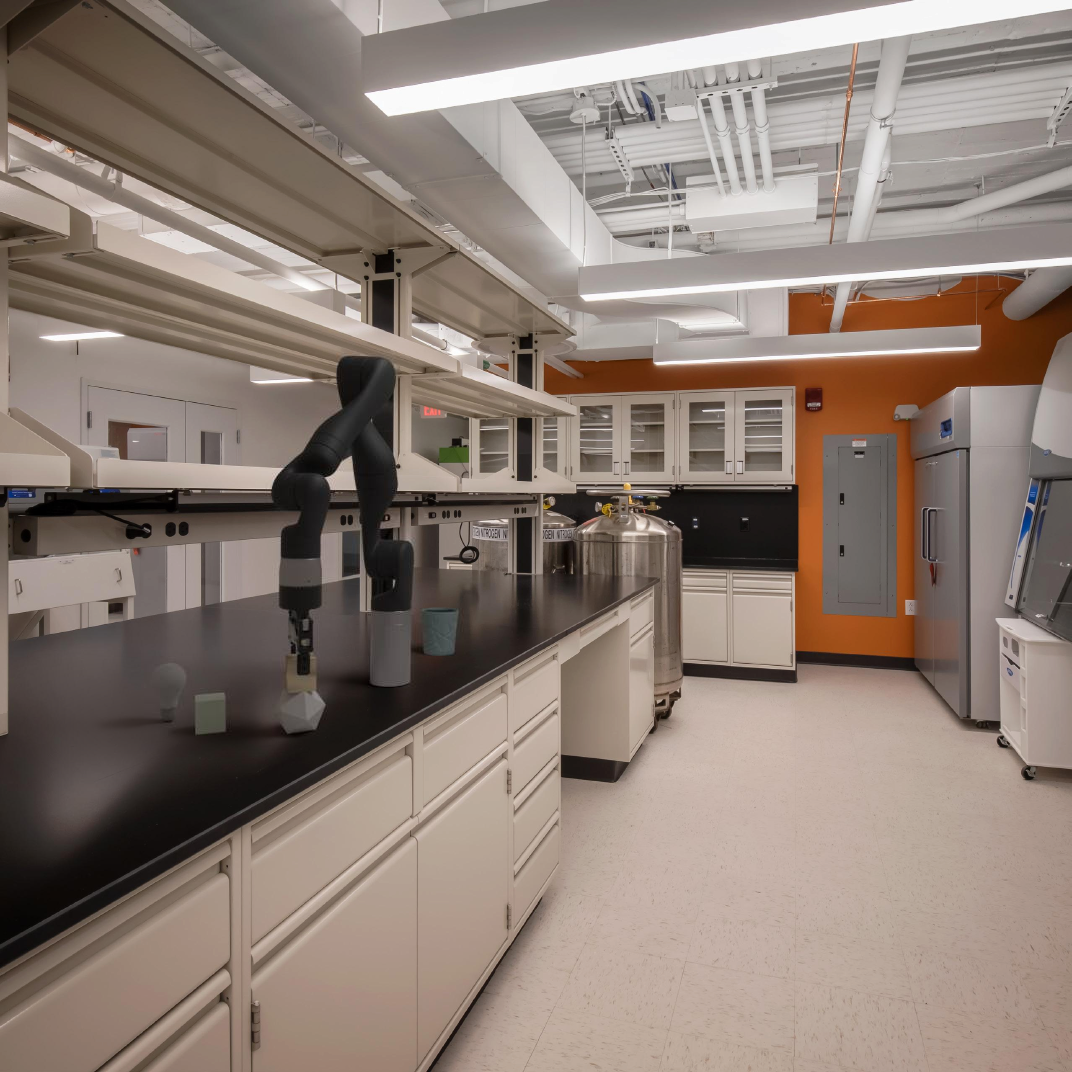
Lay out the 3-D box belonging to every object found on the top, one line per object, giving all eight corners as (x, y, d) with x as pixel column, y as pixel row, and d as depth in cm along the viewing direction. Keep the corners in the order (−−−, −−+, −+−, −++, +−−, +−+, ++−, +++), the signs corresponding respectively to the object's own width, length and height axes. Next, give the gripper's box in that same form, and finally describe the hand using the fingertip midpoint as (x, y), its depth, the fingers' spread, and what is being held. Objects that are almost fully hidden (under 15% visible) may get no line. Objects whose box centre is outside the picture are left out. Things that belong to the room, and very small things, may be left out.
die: (318, 723, 143) (288, 683, 142) (342, 709, 138) (310, 668, 137) (288, 749, 136) (256, 708, 136) (312, 736, 131) (279, 693, 131)
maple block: (284, 686, 138) (284, 654, 138) (311, 684, 140) (312, 652, 140) (287, 693, 134) (287, 660, 133) (316, 690, 136) (316, 658, 135)
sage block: (195, 726, 137) (195, 694, 137) (224, 723, 140) (224, 692, 139) (195, 734, 133) (195, 701, 133) (225, 731, 135) (225, 699, 135)
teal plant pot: (414, 654, 204) (415, 610, 203) (431, 647, 213) (431, 606, 213) (448, 657, 201) (449, 613, 200) (463, 650, 210) (464, 608, 210)
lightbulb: (192, 720, 141) (191, 663, 140) (158, 727, 136) (158, 668, 136) (178, 713, 145) (178, 658, 144) (145, 720, 140) (144, 663, 140)
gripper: (328, 586, 131) (327, 676, 132) (315, 577, 144) (314, 660, 145) (283, 587, 128) (283, 680, 129) (274, 578, 141) (274, 662, 141)
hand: (300, 669), depth 137 cm, fingers open, 8 cm apart
